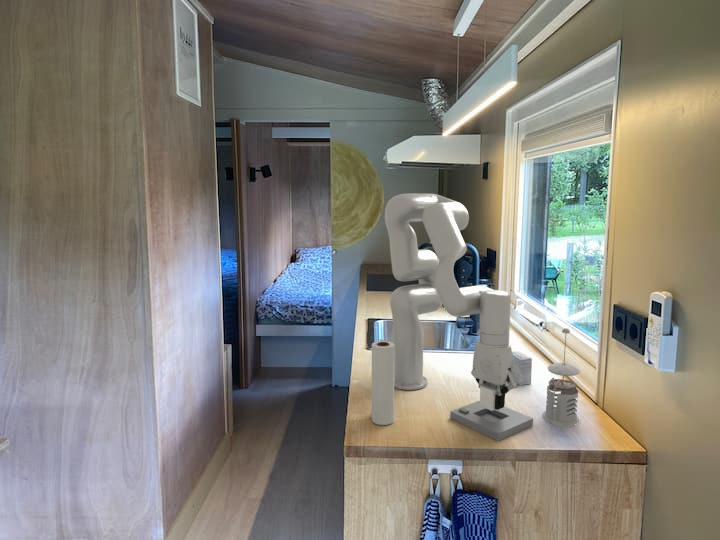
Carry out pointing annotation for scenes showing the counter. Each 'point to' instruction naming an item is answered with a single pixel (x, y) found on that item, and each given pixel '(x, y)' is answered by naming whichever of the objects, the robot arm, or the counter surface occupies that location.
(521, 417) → the socket plate
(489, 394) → the plug
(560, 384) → the french press
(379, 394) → the paper towel roll
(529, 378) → the medicine box
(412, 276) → the robot arm
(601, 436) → the counter surface
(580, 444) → the counter surface
